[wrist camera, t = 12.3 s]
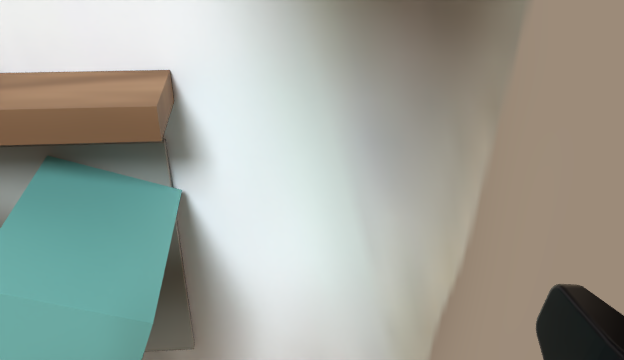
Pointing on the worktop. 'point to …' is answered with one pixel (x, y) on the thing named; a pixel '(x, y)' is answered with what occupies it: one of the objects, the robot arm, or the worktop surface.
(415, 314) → the worktop surface
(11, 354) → the teal block
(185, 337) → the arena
